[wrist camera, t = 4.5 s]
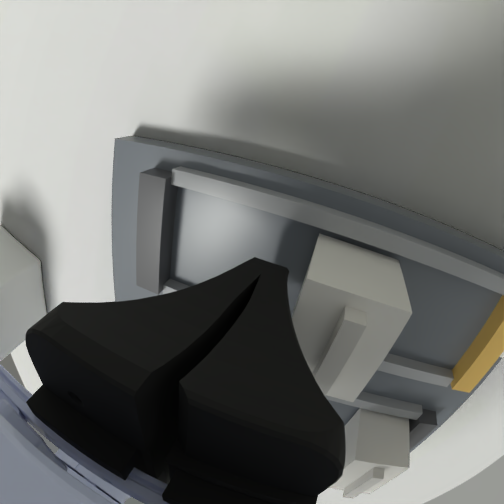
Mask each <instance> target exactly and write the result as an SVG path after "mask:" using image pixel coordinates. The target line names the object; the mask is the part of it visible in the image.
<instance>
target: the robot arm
mask: <svg viewBox="0 0 504 504" xmlns="http://www.w3.org/2000/svg"><path fill="white" fill-rule="evenodd" d="M288 275H289V270H288V268H286V267H283V266H280V265H277V264H274V263H271V262H268V261H265V260H262V259H259V258H256V257H254V258H252V259H250V260H248V261H246V262H244V263H242V264H240V265H238V266H236V267H234V268H232V269H230V270H228V271H226V272H224V273H222V274H220V275H218V276H216V277H214V278H211V279H209V280H206V281H204V282H201V283H199V284H197V285H194V286H191V287H188V288H185V289H181V290H178V291H174V292H171V293H167V294H162V295H157V296H152V297H147V298H142V299H136V300H127V301H118V302H103V303H71V302H62V303H61V304H59V305H58V306H57V307H56V308H54V309H53V310H52V311H50V312H49V313H48V314H47V315H45V316H44V317H43V318H42V319H40V320H39V321H38V322H37V323H35V324H34V325H33V326H32V327H30V328H29V329H28V330H27V332H26V338H25V339H26V347H27V350H28V352H29V355H30V357H31V360H32V362H33V364H34V366H35V369H36V371H37V373H38V375H39V377H40V379H41V381H42V383H43V385H42V386H41V387H40V388H39V389H38V390H37V391H36V392H35V393H34V394H33V395H32V394H31V393H30V392H29V391H28V390H26V389H25V388H24V387H23V386H22V385H21V384H20V383H19V382H18V381H17V380H16V379H15V378H14V377H13V376H12V375H11V374H10V373H9V372H8V371H7V370H6V369H5V368H4V367H3V366H2V365H1V364H0V504H124V503H125V501H126V500H127V499H128V498H130V497H133V498H135V499H137V500H139V501H140V502H142V503H144V504H316V501H317V497H318V495H319V494H320V493H321V492H323V491H324V490H326V489H327V488H329V487H330V486H331V485H333V484H334V483H336V482H337V481H338V480H339V479H340V477H341V476H342V475H343V469H344V465H345V456H346V439H345V427H344V422H343V420H342V419H341V418H340V416H339V415H338V414H337V412H336V411H335V409H334V408H333V407H332V405H331V404H330V403H329V401H328V400H327V398H326V397H325V396H324V394H323V392H322V391H321V389H320V387H319V385H318V384H317V382H316V380H315V378H314V376H313V374H312V372H311V370H310V368H309V366H308V364H307V362H306V360H305V358H304V355H303V353H302V350H301V347H300V345H299V342H298V339H297V336H296V333H295V329H294V326H293V321H292V317H291V312H290V307H289V299H288V286H287V282H288ZM27 421H28V422H29V423H30V424H31V425H32V426H33V427H34V428H36V429H37V430H38V431H39V432H40V433H41V434H42V435H43V436H45V437H46V438H47V439H48V440H49V441H51V442H52V443H53V444H54V445H55V446H57V447H58V448H59V450H58V451H57V452H56V453H55V454H54V453H53V452H52V451H51V450H50V449H49V447H48V446H47V445H46V443H45V442H44V440H43V439H42V438H41V437H40V436H39V435H38V434H37V433H36V432H35V431H34V430H33V429H32V428H31V427H30V426H29V425H28V423H27ZM169 481H170V482H169Z"/></svg>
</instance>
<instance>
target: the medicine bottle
mask: <svg viewBox="0 0 504 504" xmlns="http://www.w3.org/2000/svg"><path fill="white" fill-rule="evenodd" d="M45 315H47V311H46V305H45V298H44V290H43V281H42V272H41V262H40V260H39V259H38V258H37V257H36V256H35V255H33V254H32V253H31V252H30V251H29V250H28V249H26V248H25V247H24V246H23V245H22V244H21V243H20V242H19V241H17V240H16V239H15V238H14V237H13V236H12V235H11V234H10V233H9V232H8V231H6V230H5V229H4V228H3V227H2V226H1V225H0V361H1V360H2V359H4V358H5V357H6V356H7V355H8V354H9V353H10V352H12V351H13V350H14V349H15V348H16V347H17V346H18V345H20V344H21V343H22V342H23V341H24V340H26V339H25V338H26V332H27V330H28V329H29V328H30V327H32V326H33V325H34V324H35V323H37V322H38V321H39V320H40V319H42V318H43V317H44V316H45Z"/></svg>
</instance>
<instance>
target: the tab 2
mask: <svg viewBox="0 0 504 504" xmlns="http://www.w3.org/2000/svg"><path fill="white" fill-rule="evenodd" d="M344 427H345V439H346V456H345V465H344V469H343V475H342V476H341V477H340V479H339V480H338V481H337V482H336V483H334V484H333V485H331V486H330V487H329V488H333V489H338V490H344V493H343V497H346V498H354V497H356V496H358V495H359V494H361V493H365V494H370V493H372V492H374V491H375V490H377V489H379V488H380V487H382V486H383V485H385V484H386V483H388V482H390V481H391V480H393V479H394V478H396V477H397V476H399V475H400V474H401V473H403V472H404V471H406V470H407V469H409V461H410V442H409V418H403V417H398V416H393V415H389V414H384V413H379V412H375V411H371V410H366V409H362V408H359V410H358V411H357V412H356V413H355V415H354V416H353V417H352V418H351V419H350V420H349V422H348V423H347V424H346V425H345V426H344Z"/></svg>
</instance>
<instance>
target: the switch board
mask: <svg viewBox="0 0 504 504" xmlns="http://www.w3.org/2000/svg"><path fill="white" fill-rule="evenodd" d="M319 233H320V234H323V235H326V236H329V237H332V238H335V239H338V240H341V241H344V242H347V243H350V244H353V245H356V246H359V247H362V248H365V249H368V250H371V251H374V252H376V253H379V254H382V255H385V256H388V257H391V258H394V259H396V260H399V263H400V267H401V270H402V274H403V277H404V281H405V285H406V289H407V293H408V297H409V301H410V305H411V309H412V315H411V316H410V318H409V320H408V322H407V323H406V325H405V327H404V328H403V330H402V332H401V333H400V335H399V337H398V338H397V340H396V341H395V343H394V345H393V346H392V348H391V349H390V351H389V352H388V354H387V355H386V357H385V359H384V360H383V362H382V363H381V364H380V366H379V367H378V369H377V370H376V372H375V373H374V375H373V376H372V378H371V379H370V380H369V382H368V383H367V385H366V386H365V387H364V389H363V390H362V391H361V393H360V394H359V395H358V397H357V398H356V399H355V401H354V402H349V401H345V400H342V399H338V398H334V397H331V396H327V395H326V396H325V397H326V398H327V400H328V401H329V403H330V404H331V405H332V407H333V408H334V409H335V411H336V412H337V414H338V415H339V416H340V418H341V419H342V420H343V422H344V426H345V425H346V424H347V423H348V422H349V420H350V419H351V418H352V417H353V416H354V415H355V413H356V412H357V411H358V410H359V408H362V409H366V410H371V411H375V412H379V413H384V414H389V415H393V416H398V417H403V418H409V442H410V452H411V451H412V450H414V449H415V448H416V447H417V446H418V445H420V444H421V443H422V442H423V441H424V440H425V439H427V438H428V437H429V436H430V435H431V434H432V433H433V432H434V431H436V430H437V429H438V428H439V427H440V426H441V425H442V424H443V423H444V422H445V421H446V420H447V419H448V418H449V417H450V416H451V415H452V414H453V413H454V412H455V411H456V410H457V409H458V408H459V407H460V406H461V405H462V404H463V403H464V402H465V401H466V400H467V399H468V398H469V397H470V396H471V395H472V393H473V392H474V391H475V390H476V389H477V388H478V387H479V386H480V384H481V383H482V382H483V381H484V380H485V379H486V377H487V376H488V375H489V374H490V373H491V371H492V370H493V369H494V368H495V366H496V365H497V364H498V362H499V361H500V360H501V359H502V358H504V251H502V250H500V249H498V248H496V247H494V246H492V245H490V244H488V243H486V242H484V241H481V240H479V239H477V238H475V237H473V236H470V235H468V234H466V233H464V232H461V231H459V230H457V229H454V228H452V227H450V226H447V225H445V224H443V223H440V222H438V221H435V220H433V219H431V218H428V217H426V216H423V215H421V214H418V213H415V212H413V211H410V210H408V209H405V208H402V207H400V206H397V205H394V204H392V203H389V202H386V201H383V200H381V199H378V198H375V197H372V196H369V195H366V194H363V193H360V192H357V191H354V190H351V189H348V188H345V187H342V186H339V185H336V184H333V183H330V182H327V181H323V180H320V179H317V178H313V177H310V176H307V175H303V174H300V173H296V172H293V171H289V170H286V169H282V168H279V167H275V166H271V165H267V164H264V163H260V162H256V161H252V160H248V159H244V158H240V157H236V156H232V155H227V154H223V153H219V152H214V151H210V150H205V149H200V148H196V147H191V146H186V145H181V144H176V143H171V142H165V141H160V140H154V139H149V138H143V137H137V136H127V137H122V138H116V139H115V146H114V160H113V179H112V257H113V276H114V290H115V302H118V301H127V300H136V299H142V298H147V297H152V296H157V295H162V294H167V293H171V292H174V291H178V290H181V289H185V288H188V287H191V286H194V285H197V284H199V283H201V282H204V281H206V280H209V279H211V278H214V277H216V276H218V275H220V274H222V273H224V272H226V271H228V270H230V269H232V268H234V267H236V266H238V265H240V264H242V263H244V262H246V261H248V260H250V259H252V258H254V257H256V258H259V259H262V260H265V261H268V262H271V263H274V264H277V265H280V266H283V267H286V268H288V270H289V275H288V282H287V286H288V299H289V307H290V312H291V316H292V313H293V310H294V307H295V305H296V302H297V299H298V296H299V293H300V290H301V287H302V285H303V282H304V279H305V276H306V273H307V270H308V267H309V264H310V261H311V258H312V255H313V252H314V249H315V246H316V242H317V239H318V236H319Z"/></svg>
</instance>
